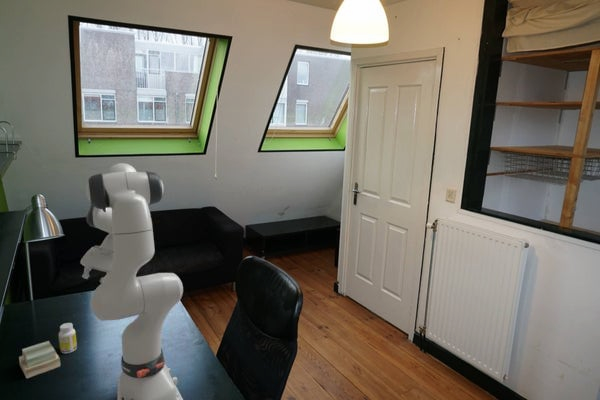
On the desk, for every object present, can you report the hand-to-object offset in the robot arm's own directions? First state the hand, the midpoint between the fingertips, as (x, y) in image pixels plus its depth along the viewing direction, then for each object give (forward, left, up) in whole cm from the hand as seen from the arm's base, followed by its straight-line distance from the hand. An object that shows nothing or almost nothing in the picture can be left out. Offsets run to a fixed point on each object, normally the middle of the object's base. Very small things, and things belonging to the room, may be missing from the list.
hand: (93, 280), depth 156 cm
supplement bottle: (-5, +12, -23) cm, 26 cm away
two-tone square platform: (-9, +22, -23) cm, 32 cm away
